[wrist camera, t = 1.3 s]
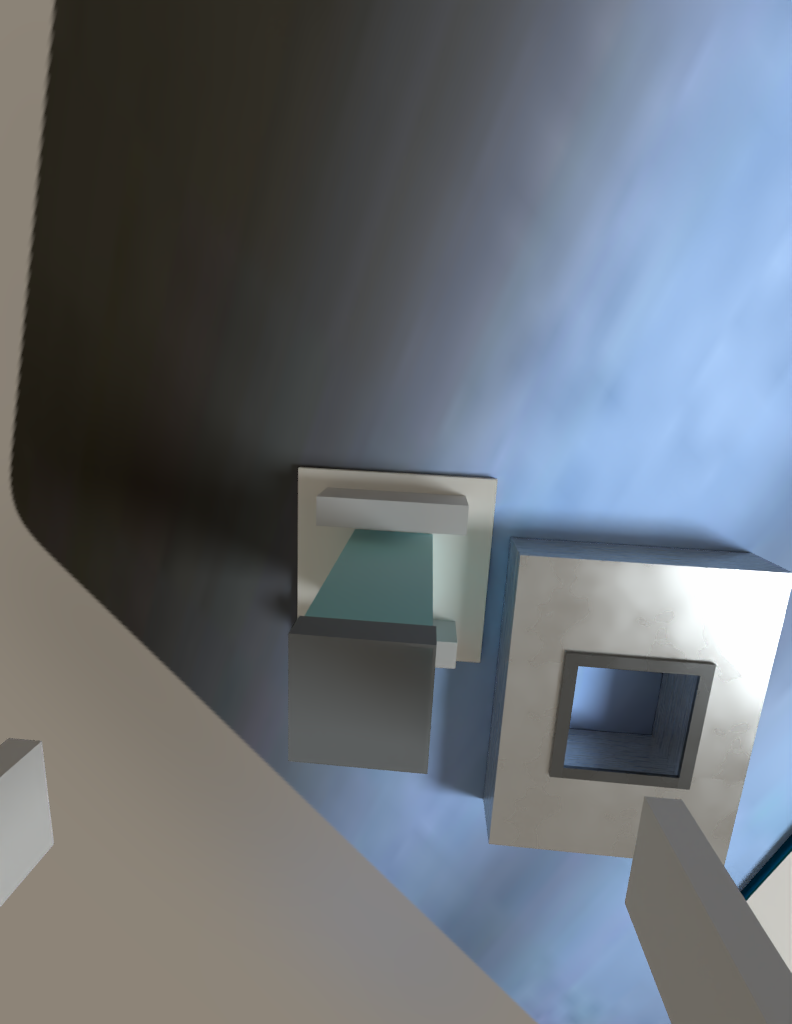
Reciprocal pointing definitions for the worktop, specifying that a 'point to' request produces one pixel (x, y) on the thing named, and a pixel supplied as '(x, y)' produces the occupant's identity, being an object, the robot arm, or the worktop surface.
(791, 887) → the smartphone
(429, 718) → the plug
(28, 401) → the worktop surface
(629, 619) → the port panel
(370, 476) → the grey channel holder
